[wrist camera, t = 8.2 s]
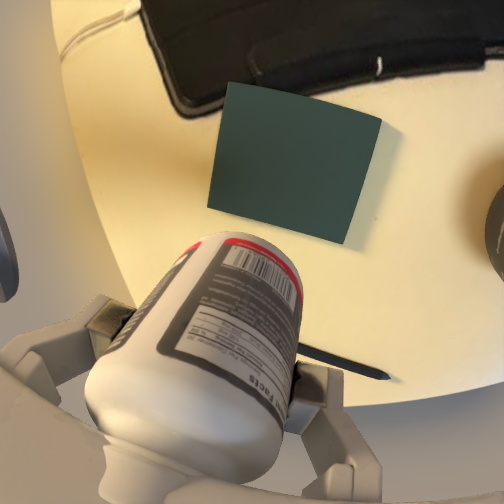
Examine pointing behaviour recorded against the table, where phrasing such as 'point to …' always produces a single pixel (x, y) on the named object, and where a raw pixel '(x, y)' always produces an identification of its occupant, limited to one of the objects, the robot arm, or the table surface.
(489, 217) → the jar
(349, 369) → the pen
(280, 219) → the desk mat
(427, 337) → the table surface
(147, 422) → the pill bottle
